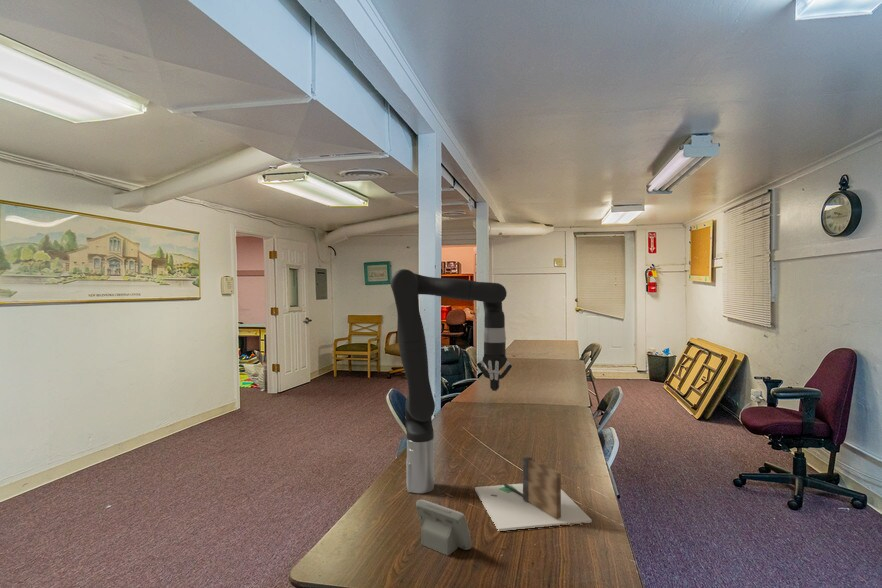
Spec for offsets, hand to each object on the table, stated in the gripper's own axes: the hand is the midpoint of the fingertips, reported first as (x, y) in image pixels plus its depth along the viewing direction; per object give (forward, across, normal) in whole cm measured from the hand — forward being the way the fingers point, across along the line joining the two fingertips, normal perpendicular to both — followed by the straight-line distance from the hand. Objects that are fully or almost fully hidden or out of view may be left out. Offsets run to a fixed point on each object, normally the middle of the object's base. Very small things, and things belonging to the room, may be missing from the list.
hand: (494, 390), depth 163 cm
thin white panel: (+33, +14, -12) cm, 38 cm away
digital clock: (+33, -4, -42) cm, 53 cm away
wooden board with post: (+32, +14, -12) cm, 36 cm away
